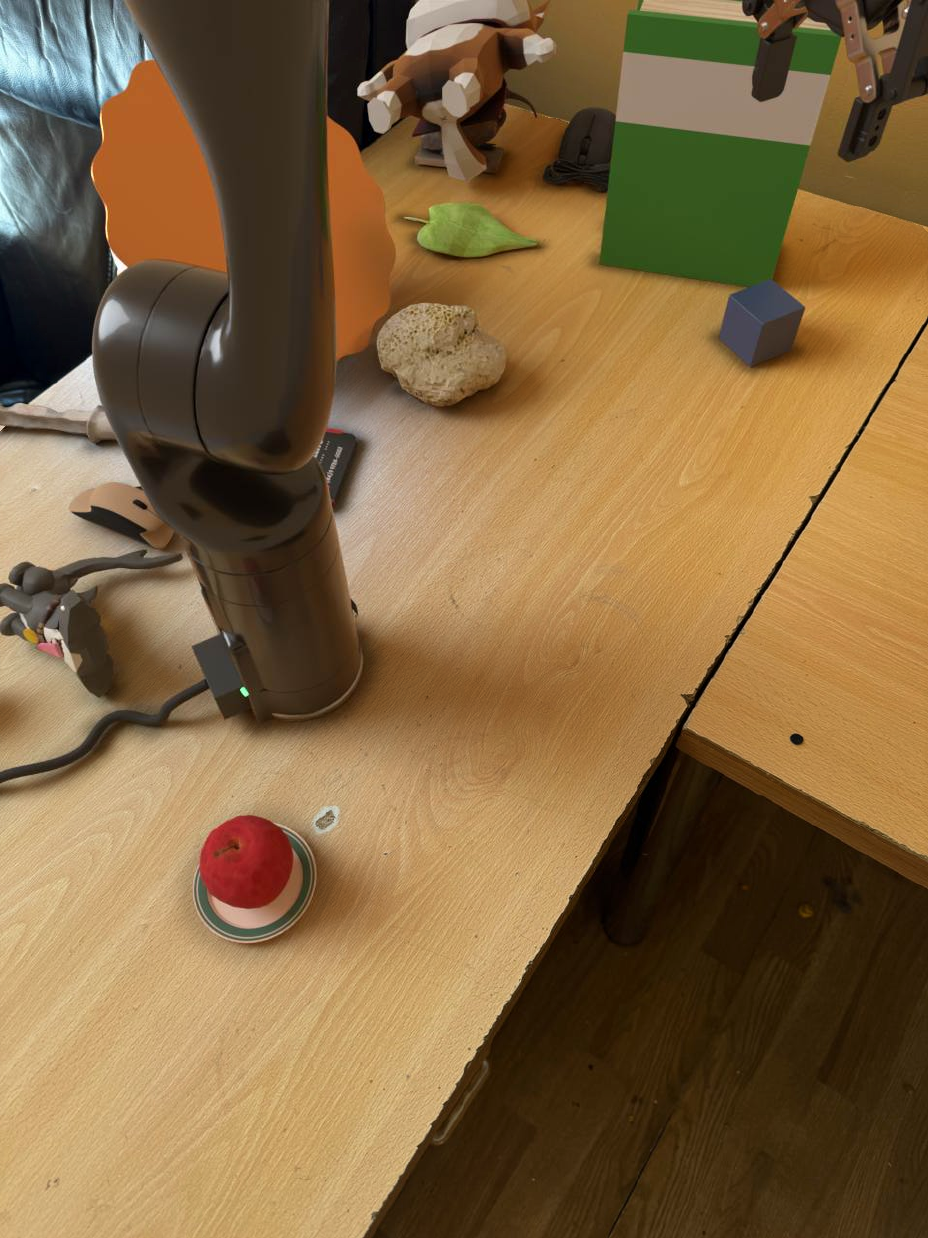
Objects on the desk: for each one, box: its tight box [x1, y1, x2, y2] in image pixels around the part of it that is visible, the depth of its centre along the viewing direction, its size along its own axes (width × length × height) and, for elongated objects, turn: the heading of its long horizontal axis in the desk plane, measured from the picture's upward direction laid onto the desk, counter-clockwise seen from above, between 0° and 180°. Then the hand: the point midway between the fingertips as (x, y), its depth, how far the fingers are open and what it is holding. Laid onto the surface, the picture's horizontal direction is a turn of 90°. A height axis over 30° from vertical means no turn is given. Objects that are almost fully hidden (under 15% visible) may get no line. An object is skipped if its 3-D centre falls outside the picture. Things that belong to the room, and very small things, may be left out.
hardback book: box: [599, 0, 843, 288], centre depth 90 cm, size 18×7×24 cm, turn 74°
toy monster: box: [0, 548, 184, 699], centre depth 70 cm, size 14×18×10 cm
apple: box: [192, 814, 318, 944], centre depth 59 cm, size 8×8×6 cm
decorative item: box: [376, 302, 507, 407], centre depth 86 cm, size 12×9×10 cm
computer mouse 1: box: [68, 481, 175, 550], centre depth 78 cm, size 6×10×4 cm, turn 64°
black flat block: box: [314, 427, 358, 509], centre depth 82 cm, size 10×1×5 cm
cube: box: [718, 278, 806, 368], centre depth 89 cm, size 5×5×5 cm
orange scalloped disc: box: [90, 59, 397, 363], centre depth 88 cm, size 28×28×18 cm
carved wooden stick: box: [0, 400, 118, 445], centre depth 84 cm, size 25×4×3 cm, turn 79°
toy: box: [357, 0, 558, 182], centre depth 105 cm, size 24×18×30 cm
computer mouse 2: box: [541, 107, 616, 193], centre depth 110 cm, size 10×15×4 cm
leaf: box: [403, 202, 539, 258], centre depth 101 cm, size 9×16×2 cm, turn 66°
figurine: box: [414, 87, 538, 174], centre depth 107 cm, size 14×4×9 cm, turn 76°
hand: (808, 125), depth 61 cm, fingers open, 8 cm apart
